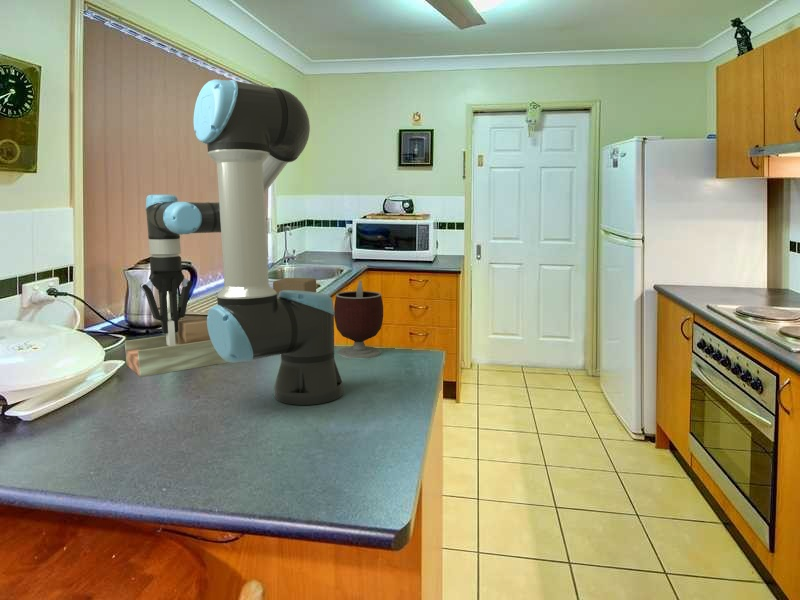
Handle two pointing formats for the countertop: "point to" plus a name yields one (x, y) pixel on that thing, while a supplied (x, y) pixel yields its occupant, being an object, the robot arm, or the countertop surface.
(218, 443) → the countertop surface
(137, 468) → the countertop surface
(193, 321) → the walnut block
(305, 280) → the wooden block
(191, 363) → the channel runway
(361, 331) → the mate gourd
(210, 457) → the countertop surface
